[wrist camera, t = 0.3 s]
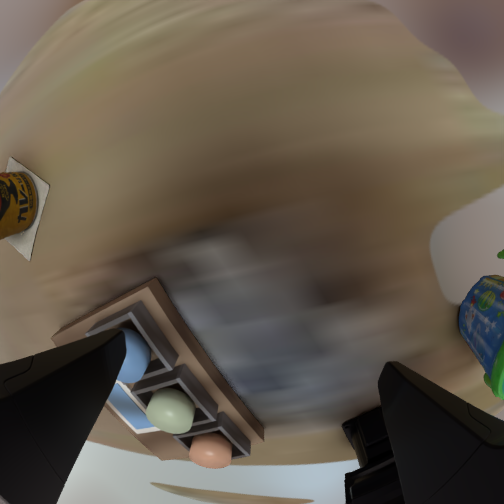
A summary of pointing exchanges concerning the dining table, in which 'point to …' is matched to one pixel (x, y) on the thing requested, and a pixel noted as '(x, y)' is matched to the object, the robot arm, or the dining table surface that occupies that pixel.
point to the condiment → (20, 206)
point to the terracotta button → (211, 450)
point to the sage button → (171, 411)
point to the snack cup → (486, 327)
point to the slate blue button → (134, 357)
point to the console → (167, 375)
